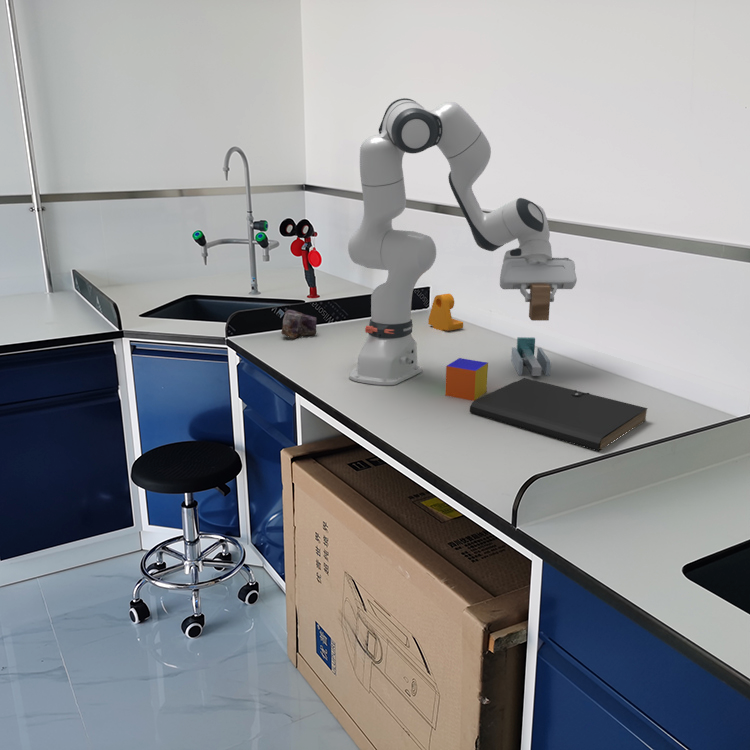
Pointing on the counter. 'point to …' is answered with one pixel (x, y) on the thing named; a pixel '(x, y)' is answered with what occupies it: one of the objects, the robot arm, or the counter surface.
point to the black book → (560, 412)
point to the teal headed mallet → (528, 354)
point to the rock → (298, 324)
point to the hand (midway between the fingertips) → (539, 300)
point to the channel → (520, 363)
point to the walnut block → (539, 302)
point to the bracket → (443, 314)
